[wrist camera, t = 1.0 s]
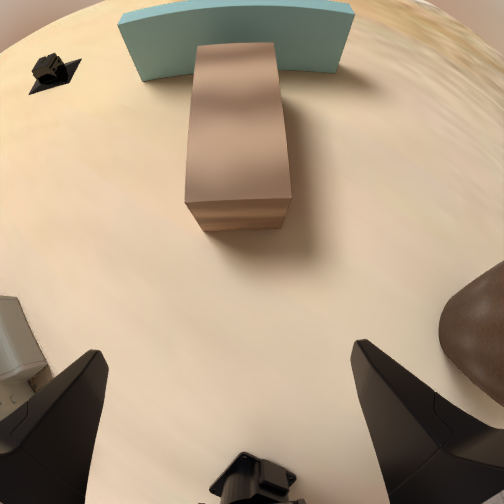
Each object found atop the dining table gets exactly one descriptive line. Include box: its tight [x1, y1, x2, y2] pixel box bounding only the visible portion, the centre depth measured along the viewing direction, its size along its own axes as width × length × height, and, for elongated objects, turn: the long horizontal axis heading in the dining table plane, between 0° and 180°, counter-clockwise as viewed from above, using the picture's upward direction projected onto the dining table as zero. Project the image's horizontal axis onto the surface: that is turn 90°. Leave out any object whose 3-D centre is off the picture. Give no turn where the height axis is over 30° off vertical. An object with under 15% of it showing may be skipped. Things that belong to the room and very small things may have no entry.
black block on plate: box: [29, 53, 82, 95], centre depth 29 cm, size 12×7×5 cm, turn 86°
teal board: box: [118, 0, 355, 81], centre depth 26 cm, size 8×24×10 cm, turn 92°
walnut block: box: [185, 42, 292, 231], centre depth 24 cm, size 16×7×8 cm, turn 2°
